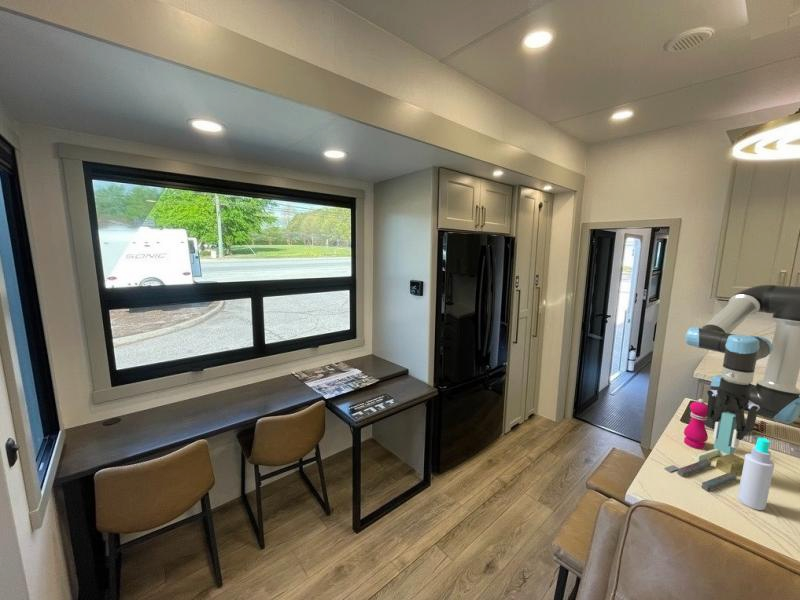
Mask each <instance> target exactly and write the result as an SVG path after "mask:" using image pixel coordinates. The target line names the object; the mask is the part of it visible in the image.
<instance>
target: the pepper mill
mask: <svg viewBox="0 0 800 600" xmlns="http://www.w3.org/2000/svg"><path fill="white" fill-rule="evenodd" d="M707 404H708V403H707ZM707 404H706V403H705V400H704V399H703V398H699V399H698V401H692V402H691V403H690V405H689V409H690V411H691V412H690V417H691V419H690V421H689V423H688V424H687V425H686V426H685V428H684V431H683V434H684V439H683V443H684V444H685V445H687V446H688V447H691V448H692V449H697V450H703V449H705V447H706V442H707V441H708V439H709V437H708V432H707V430H706V425H705V420H707V415H706V413H707V406H708V405H707Z"/></svg>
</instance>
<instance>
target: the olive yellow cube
mask: <svg viewBox="0 0 800 600" xmlns="http://www.w3.org/2000/svg"><path fill="white" fill-rule="evenodd" d="M737 466H738V462H736V461H734V460H732V459H730V458H728V457H726V456H722V457H721V456H719V457H717V458H716V464H715V468H716V469H717V470H720V471H721V472H722V473H723V472H724V474H727V473H729V472H733V473H735V474H736V473H737V472H736V471H737Z"/></svg>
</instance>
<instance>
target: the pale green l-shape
mask: <svg viewBox="0 0 800 600" xmlns="http://www.w3.org/2000/svg"><path fill="white" fill-rule="evenodd" d="M724 455H727V454H726V453H724V452H722V451H720V450H718V449H716V448H713V449H710V450H707V451H704V452H701V453H698V454H696V458H695V459H696V462H700V461H702V460H705V459H707V460H709V459H711V458H713V457H717V456H719V457H722V456H724Z"/></svg>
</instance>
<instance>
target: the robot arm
mask: <svg viewBox="0 0 800 600" xmlns="http://www.w3.org/2000/svg"><path fill="white" fill-rule="evenodd" d="M757 313H767V314H772V319H773V321H775V322H776V325H775V329H774V334H773V338H772V342H771V341H770V340H769V339H767V338H765V337H764V336H759V335H752V336H749V335H745V334H734V333H732V332H733V331H735V330H736V328H738V327H739V326H740V325H741V324H742V323H743V321H745V320H746V319H747V318H748V317H749V316H752V315H755V314H757ZM684 337H685V339H684V340H685V342H686V344H687V345H689V346H692V347H695V348H698V349H703V350H707V351H713V352H717V353H722V354H723V355H724V356H723V364H722V368H721V373H720V374H717V375H714V376H713V377H712V378H711V381H710V384H709V385H710V388H709V390H707V397H708V399H707V405H708V406H707V413H706V415H707V420H705V426H707V427H708V428H710V429H713V434H712V439H713V440H717V439H718V434H719V428H720V423H721V417H722V413H723V412H727V411H728V412H731V413H733V414H735V416H736V423H737V426H736V429H734V432H733V438H732V444H731V447H733V448H735V449H736V448H737V447H740V446H739V445H740V441H741V440H744V437H745V434H746V433H751V432H753V431H754V430H755V425H756V420H757V416H761V417H764V418H767V419H769V420H772V421H777V422H780V423H783V424H792V423H794V422H795V421H796V420H797V419H798V418H799V416H800V390H799V389H798V388H797V383H798V377H799V374H800V286H791V285H777V284H761V285H760V284H759V285H755V286H751V287H748V288H745V289H743V290H741V291H739V292H737V293H735V294H734V295H733V296H731V297H730V298H729V300H728V303H727V304H726V306H724V307H723V308H722V309H721V310H720V311H719V312H718V313H717V314H715V315H714V316H713V317H712V318H711V319H710V320H709V321H708V322H707V323H706V324H704V325H703V326H702V327H694V326H693V327H689V328H688V329H687V330H686V332H685V336H684ZM767 357H768V359H767V363H766V367H765V372H764V376H763V378H762V379H761V380H759V381H756V385H755V384H753V382H754V375H755V369H756V364H757V361H758V360H761V359H765V358H767ZM745 411H746V412H747V417H746V416H745Z"/></svg>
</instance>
